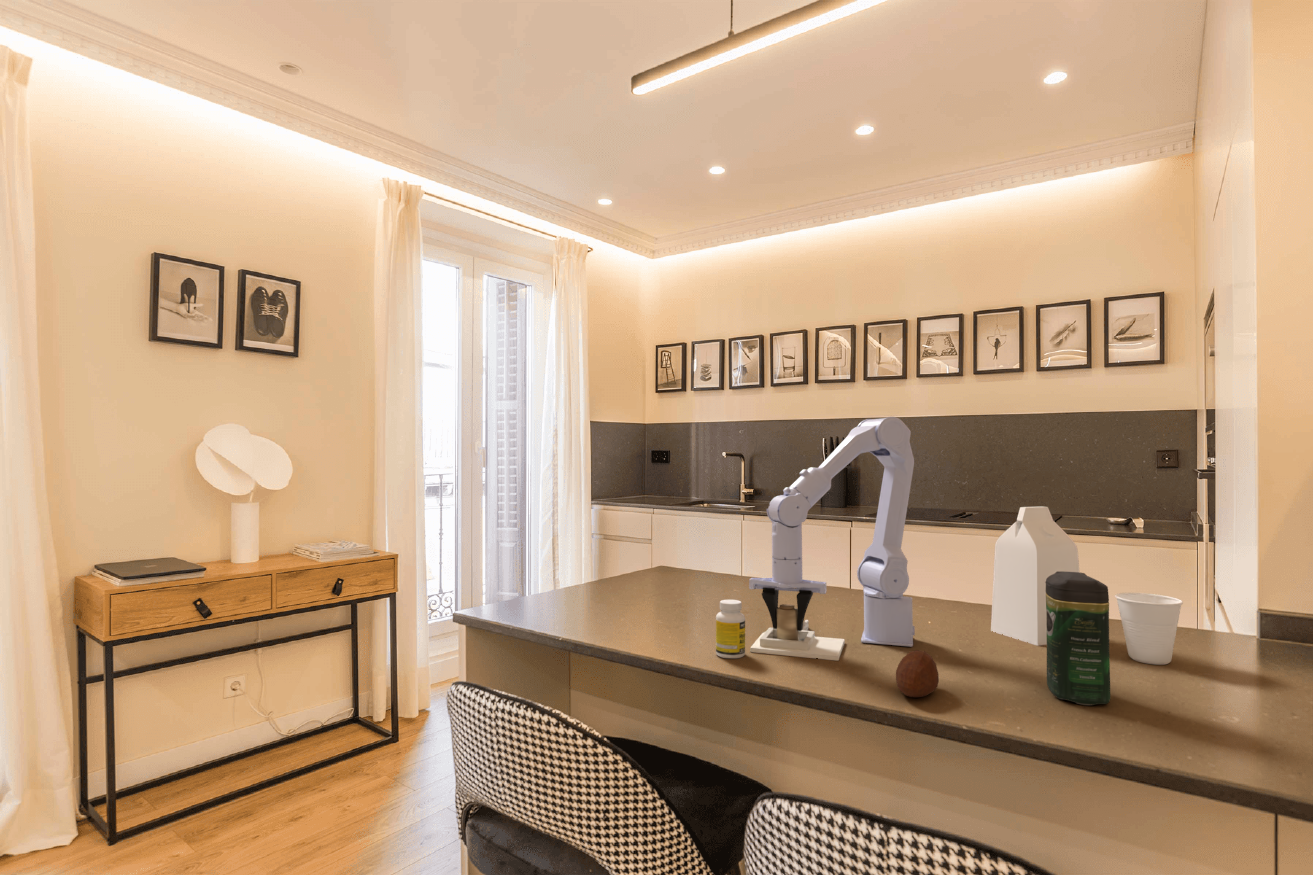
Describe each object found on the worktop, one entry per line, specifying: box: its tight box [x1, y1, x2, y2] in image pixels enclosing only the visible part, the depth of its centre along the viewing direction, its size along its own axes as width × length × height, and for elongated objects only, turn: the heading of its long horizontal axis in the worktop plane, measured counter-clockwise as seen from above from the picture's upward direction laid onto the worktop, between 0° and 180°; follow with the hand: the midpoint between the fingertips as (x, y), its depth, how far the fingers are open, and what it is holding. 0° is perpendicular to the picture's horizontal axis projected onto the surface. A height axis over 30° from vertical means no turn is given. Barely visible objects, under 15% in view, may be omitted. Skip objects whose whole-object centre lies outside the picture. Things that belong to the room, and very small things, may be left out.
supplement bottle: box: [715, 599, 746, 659], centre depth 126 cm, size 5×5×10 cm
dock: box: [749, 619, 845, 662], centre depth 135 cm, size 16×22×2 cm
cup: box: [1114, 592, 1184, 666], centre depth 122 cm, size 10×10×11 cm
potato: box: [895, 649, 940, 698], centre depth 105 cm, size 6×12×6 cm, turn 149°
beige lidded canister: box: [777, 603, 798, 641], centre depth 131 cm, size 4×4×7 cm
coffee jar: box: [1045, 571, 1111, 706], centre depth 104 cm, size 10×8×19 cm
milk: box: [990, 506, 1080, 647], centre depth 139 cm, size 12×12×26 cm
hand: (787, 628), depth 131 cm, fingers closed on beige lidded canister, 4 cm apart
